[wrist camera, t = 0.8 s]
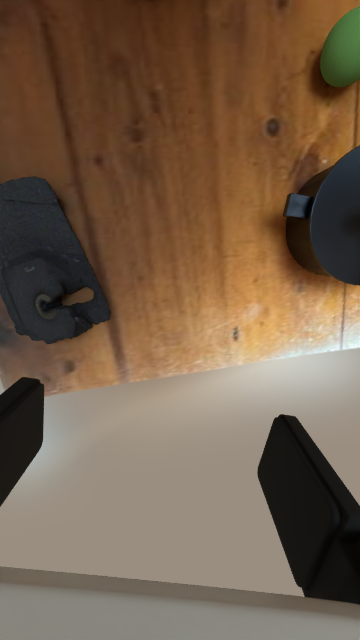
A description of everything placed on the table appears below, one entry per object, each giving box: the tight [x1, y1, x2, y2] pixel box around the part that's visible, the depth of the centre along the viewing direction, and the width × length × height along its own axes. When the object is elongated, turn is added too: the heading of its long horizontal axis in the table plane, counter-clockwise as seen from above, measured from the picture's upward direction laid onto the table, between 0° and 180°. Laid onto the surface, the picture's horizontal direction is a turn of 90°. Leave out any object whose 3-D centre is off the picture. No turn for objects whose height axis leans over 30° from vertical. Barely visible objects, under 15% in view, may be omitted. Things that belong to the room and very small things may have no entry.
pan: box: [283, 166, 333, 277], centre depth 31 cm, size 15×20×7 cm
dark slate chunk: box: [0, 177, 110, 344], centre depth 33 cm, size 15×22×5 cm
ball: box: [320, 6, 360, 87], centre depth 27 cm, size 6×6×6 cm
